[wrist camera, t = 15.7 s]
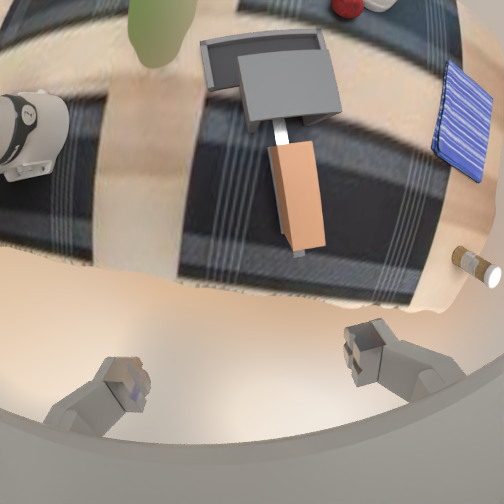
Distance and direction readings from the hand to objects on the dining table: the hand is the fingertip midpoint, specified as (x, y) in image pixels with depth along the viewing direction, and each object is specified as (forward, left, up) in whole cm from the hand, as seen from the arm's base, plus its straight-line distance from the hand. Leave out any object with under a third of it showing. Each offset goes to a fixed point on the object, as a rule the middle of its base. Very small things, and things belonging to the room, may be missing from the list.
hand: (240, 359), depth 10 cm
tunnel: (+8, +15, -37) cm, 41 cm away
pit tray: (+8, +24, -37) cm, 45 cm away
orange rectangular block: (+8, +1, -37) cm, 38 cm away
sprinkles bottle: (+46, -18, -37) cm, 62 cm away
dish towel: (+50, +12, -38) cm, 64 cm away
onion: (+24, +34, -37) cm, 56 cm away
